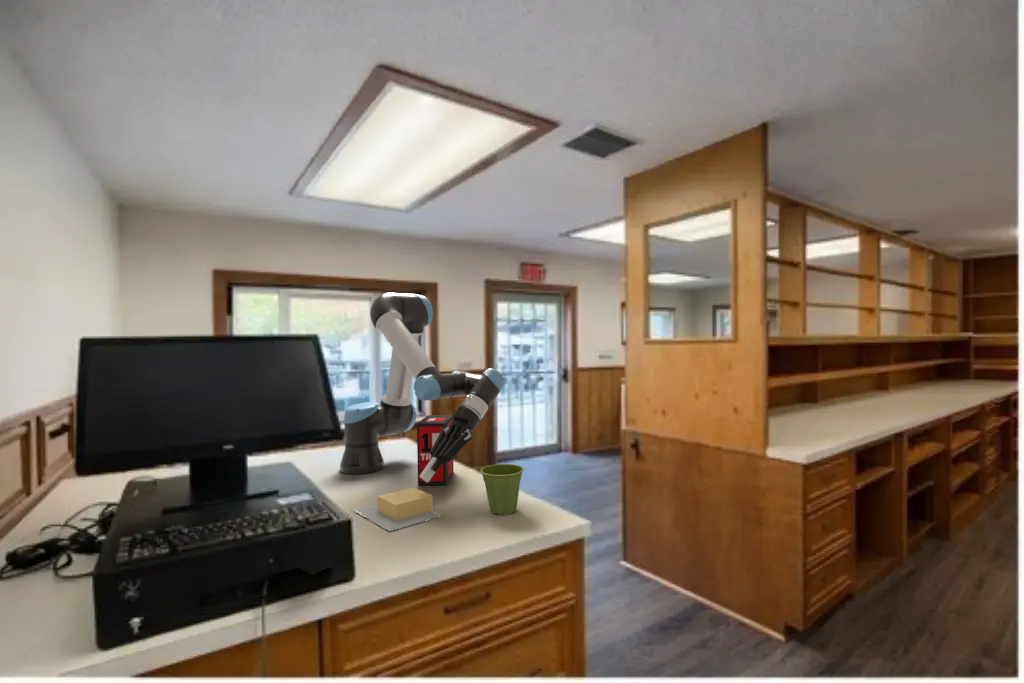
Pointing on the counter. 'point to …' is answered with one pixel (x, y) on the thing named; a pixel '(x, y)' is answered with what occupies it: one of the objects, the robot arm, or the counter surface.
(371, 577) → the counter surface
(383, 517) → the mat
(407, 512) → the ochre box
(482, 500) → the counter surface
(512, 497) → the plant pot
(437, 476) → the cleaning product box
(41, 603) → the counter surface
